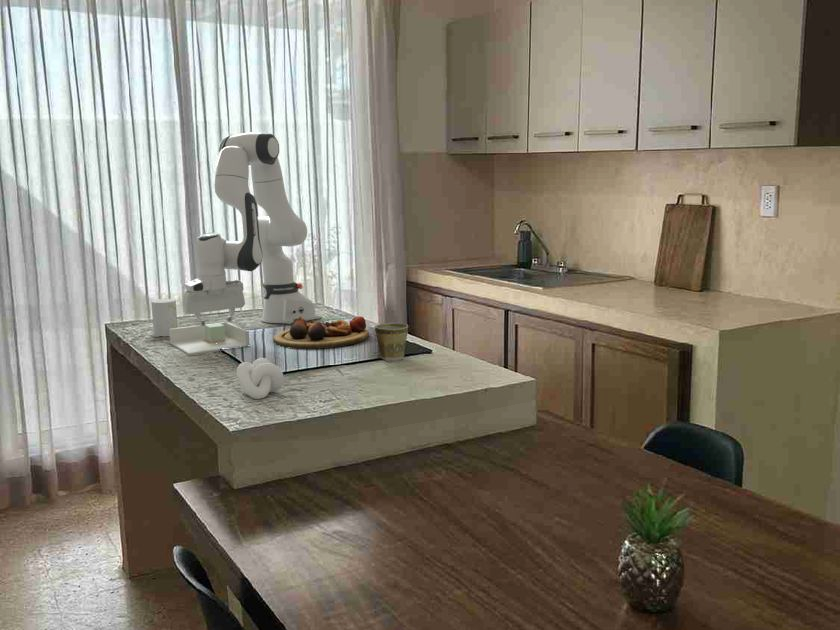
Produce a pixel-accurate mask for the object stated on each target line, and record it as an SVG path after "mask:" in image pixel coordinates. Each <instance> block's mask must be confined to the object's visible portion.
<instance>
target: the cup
mask: <svg viewBox="0 0 840 630" xmlns="http://www.w3.org/2000/svg"><path fill="white" fill-rule="evenodd" d="M150 303H151V313H152V328H153V336H154V337H156V336H169V337H170V329H172V328H179V327H178V325H179V324H178V314H177V299H175V298H159V299H154V300H151V302H150Z"/></svg>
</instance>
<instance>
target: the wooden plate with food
mask: <svg viewBox="0 0 840 630" xmlns="http://www.w3.org/2000/svg"><path fill="white" fill-rule="evenodd" d="M301 317H302V316H301ZM301 317H299V318H296V319H295V320H294V319H293V320H294V322H292V323H290V329H289V328H288V329H286V330H282V331H280V332H277V333H276V334H275V335H273V338H272V341H273V343H274V344H275V343H276V344H275V345H277V346H279V345H280V346H279V347H282V346H284V347H283V348H287V347H290V348H289V349H296V348H298V349H297V350H312V349H313V350H315V349H316V350H318V349H332V348H339V347H346V346H351V345H355V344H359V343H360V342H361V343H362V342H363V341H365V340H367V339H368V338H369V336H370V333H369V330H368V329H367V328H366V327H367V323H366V319H365V317H364V316H360V315H357V316H355V317H353V318H352V320H350V321H349V323H348V322H347V320H344V319H337V320H333V321H330V322H328V321H326V322H321V321H319V320H318V321H317V320H310V323H309V322H308V324H307V323H306V322H307V321H305V319H303V318H301Z"/></svg>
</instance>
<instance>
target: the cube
mask: <svg viewBox="0 0 840 630" xmlns="http://www.w3.org/2000/svg"><path fill="white" fill-rule="evenodd" d="M217 323H218V324H213V323H209V324H210V325H205V335H206V340H207V341H209V342H217V341H224V340H225V326H224V325H222V324H220V323H221V322H217Z"/></svg>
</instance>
